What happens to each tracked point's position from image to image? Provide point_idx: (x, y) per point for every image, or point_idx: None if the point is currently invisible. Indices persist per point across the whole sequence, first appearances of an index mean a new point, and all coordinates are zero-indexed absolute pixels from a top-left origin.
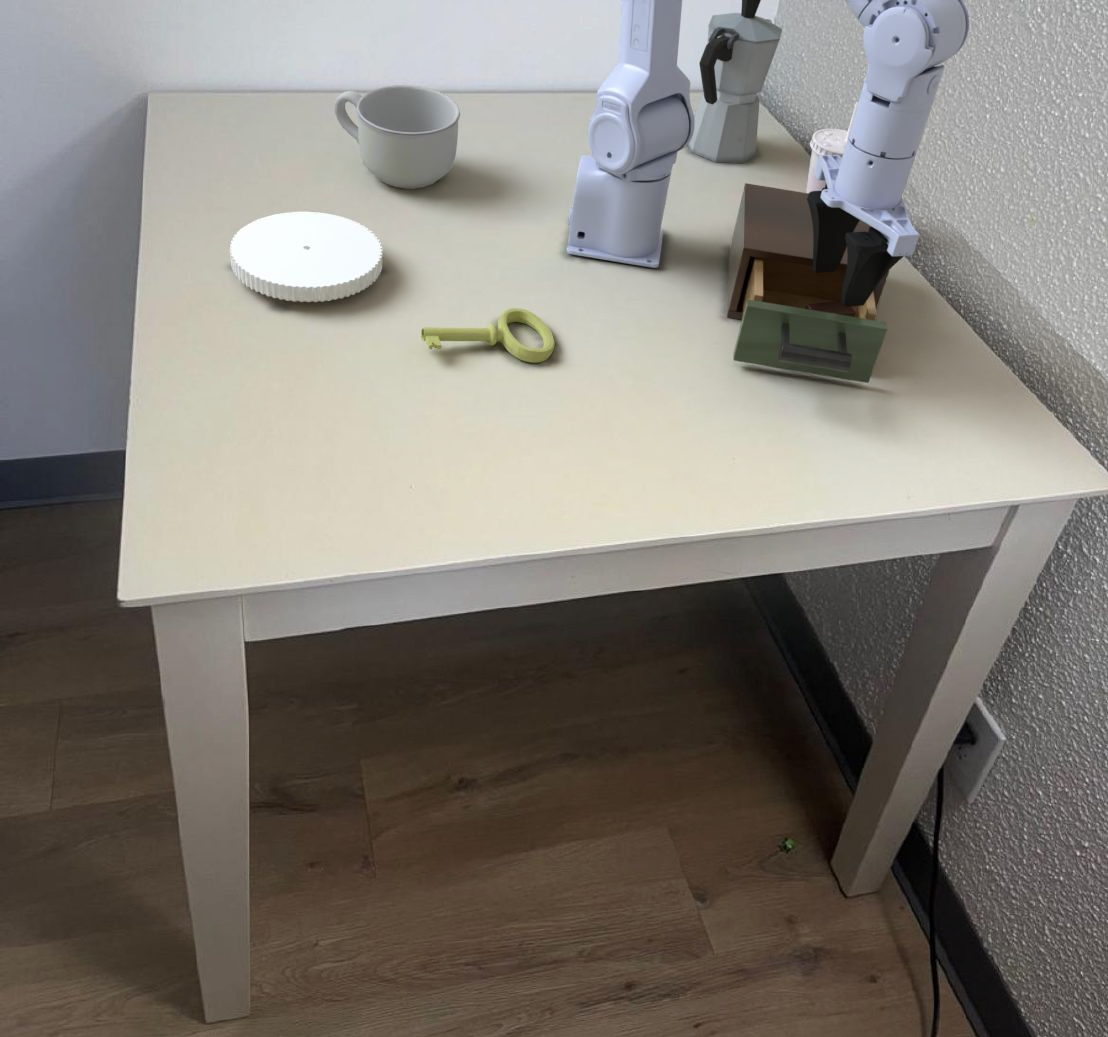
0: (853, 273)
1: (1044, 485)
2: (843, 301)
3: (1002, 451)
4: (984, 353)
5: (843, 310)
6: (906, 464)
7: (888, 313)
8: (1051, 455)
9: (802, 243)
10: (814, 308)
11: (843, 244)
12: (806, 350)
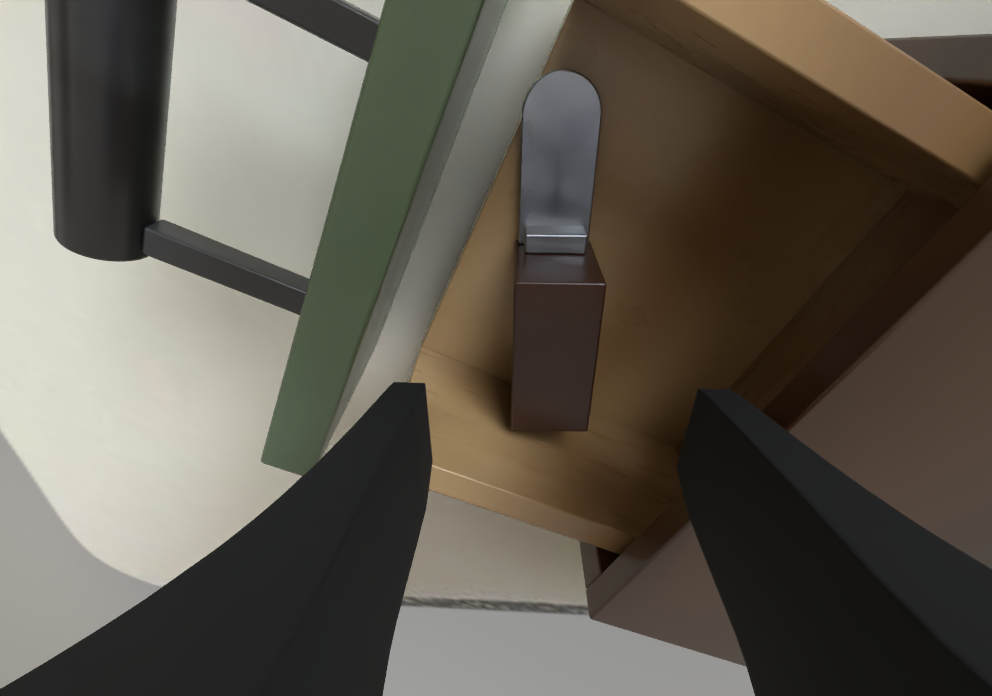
0: (245, 526)
1: (59, 494)
2: (398, 389)
3: (153, 480)
4: (474, 587)
5: (529, 396)
6: (39, 274)
7: None
8: (160, 541)
9: (948, 439)
10: (564, 300)
11: (732, 598)
12: (49, 11)
